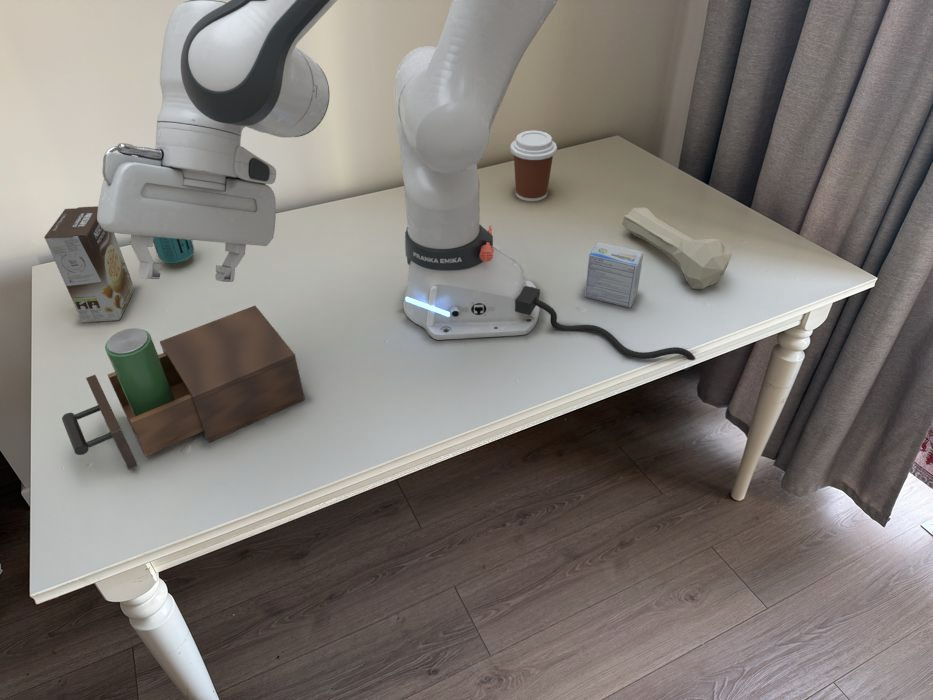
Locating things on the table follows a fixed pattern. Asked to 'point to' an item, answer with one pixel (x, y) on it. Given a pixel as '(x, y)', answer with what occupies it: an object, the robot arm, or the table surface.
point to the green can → (139, 370)
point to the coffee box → (90, 265)
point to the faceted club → (681, 248)
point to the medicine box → (613, 274)
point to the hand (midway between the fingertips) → (188, 279)
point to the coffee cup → (532, 164)
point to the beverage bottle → (173, 249)
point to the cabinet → (235, 371)
